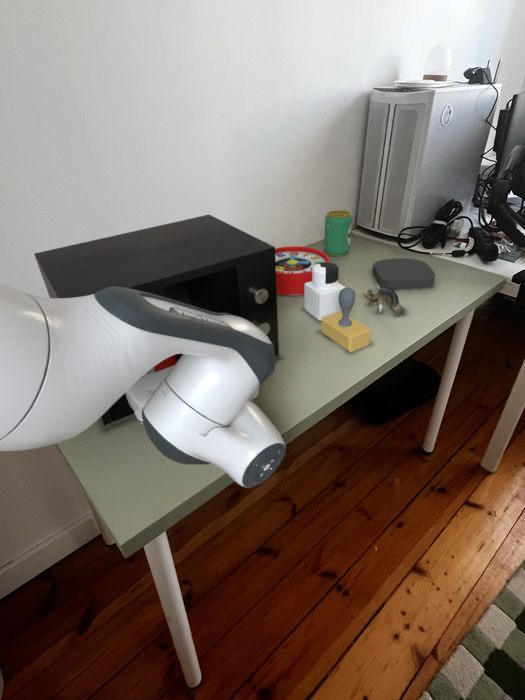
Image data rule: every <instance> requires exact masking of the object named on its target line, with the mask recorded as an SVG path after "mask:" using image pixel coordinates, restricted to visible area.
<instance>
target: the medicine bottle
mask: <svg viewBox="0 0 525 700" xmlns="http://www.w3.org/2000/svg"><path fill="white" fill-rule="evenodd" d="M339 270H340V267H339V266H338V265H337V264H336V263H333V262H330V261H329V262H321V263H318V264H315V265H314V266H313V267H312V281H311V282H307V283H305V284H304V294H303V296H304V299H303V300H304V303H303V306H304V310H305V311H306V312H308V314H310V315H311V316H313V318H315V319H316V320H317V321H319V322H321V321H322V318H324V317H327V316H329V315H332V314H335V313H338V312H342V310H341V307H340V304H339V293H340V291H341V290H342V289H344V288H347V287H346V286H345V285H343V284H342V283H340V282H339V272H340V271H339Z"/></svg>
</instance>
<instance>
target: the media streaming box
mask: <svg viewBox="0 0 525 700" xmlns="http://www.w3.org/2000/svg"><path fill="white" fill-rule="evenodd" d="M372 273H373V275H374V278H375V279H376V281H377V283H378V284H379V285H380V286H381V287H383V286H385V287H389V288H392V289H416V288H427V287H431V286H433V285H434V284H435V280H436V274H435V271H434V270H433V268H432V267H431V266H430V265H429V264H428V263H427V262H425V261H423V260H419V259H415V258H409V257H407V258H406V257H397V258H396V257H394V258H386V259H381V260H378V261H376V262H374V263H373V266H372Z"/></svg>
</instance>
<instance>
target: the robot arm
mask: <svg viewBox="0 0 525 700" xmlns="http://www.w3.org/2000/svg"><path fill="white" fill-rule="evenodd" d="M175 354H183V355H182V356H181V358H180V359H179V360H178V362H177V363H176V364H175V365H174V366H171V367H168V368H166V369H163V370H160V371H158V372H155V370H154V369H155V368H154V366H156V365H157V364H158V363H160V362H161V361H163V360H165V359H166V358H168V357H170V356H173V355H175ZM275 370H276V360H275V353H274V346H273V343H272V342H271V341H270V340H269V338H268V337H267V335H266V334H265V333H264V332H263V331H262V330H261V329H260V328H258V327H257V326H256V325H254V324H253V323H251V322H250V321H248V320H246V319H244V318H241V317H238V316H234V315H231V314H228V313H216V312H211V311H208V310H205V309H201V308H198V307H195V306H192V305H188V304H185V303H182V302H178V301H175V300H172V299H168V298H165V297H162V296H158V295H154V294H151V293H147V292H143V291H139V290H135V289H129V288H123V287H109V288H106V289H104V290H101V291H99V292H96V293H95V294H92V295H87V296H82V297H74V298H50V297H43V296H37V295H34V294H30V293H27V292H25V291H22V290H19V289H17V288H14V287H12V286H9V285H7V284H4V283H1V282H0V452H21V451H22V452H23V451H30V450H35V449H36V450H37V449H39V448H45V447H49V446H52V445H56V444H60V443H63V442H66V441H67V440H70V439H72V438H75V437H77V436H78V435H80V434H81V433H83V432H85V431H86V430H87V429H89V428H90V427H91V426H93V425H94V424H95V423H96V422H97V421H98V420H100V417H101V416H102V415H103V414H104V413H105V412H106V411H107V410H108V409H109V408H110V407H111V406H112V405H113V404H114V403H115V402H116V401H117V400H118V399H119V398H120V397H121V396H122V395H123V394H124V393H125V394H126V397H127V400H128V403H129V405H130V406H131V408H132V409H133V410H134V415H135V417H136V418H135V419H136V420H137V422H138V423H139V424H142V425H143V427H144V430H145V433H146V435H147V437H148V439H149V440H150V442H151V443H152V444H153V446H154V447H155V448H156V449H157V450H158V451H159V453H160V454H162V455H163V456H164V457H166V458H168V459H169V460H171V461H173V462H176V463H178V464H181V465H191V466H192V465H198V466H199V465H202V466H203V465H211V464H212V465H213V466H216V467H217V468H218V469H220V470H222V471H223V472H224V473H225V474H227V476H228V477H230V478H231V479H232V480H233V481H234V482H235V483H236V484H238V485H239V486H241V487H243V488H249V489H250V488H254V487H256V486H259V485H261V484H262V483H264V482H265V481H266V480H268V479H269V478H270V477H271V476H272V475H273V473H274V472H276V470H277V469H278V468H279V466H280V464H281V463H282V461H283V460H284V457H285V455H286V451H287V447H286V446H287V445H286V443H285V441H284V439H283V437H282V436H281V433H280V432H279V431H278V429H277V428H276V426H275V425H274V424H273V422H272V421H271V420H270V418H269V417H268V416H267V414H265V412H264V411H262V409H261V408H260V407H259V406H258V405H257V404H255V402H253V400H255V398H257V397H258V396H259V393H260V392H259V389H260V387H261V386H262V385H263V384H264V383H265V382H266V380H267V379H268V378H269V377H270V376H271V375H272V374H273V373H274V372H275ZM142 376H143V377H142ZM141 377H142V378H141Z"/></svg>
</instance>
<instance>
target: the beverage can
mask: <svg viewBox="0 0 525 700" xmlns="http://www.w3.org/2000/svg"><path fill="white" fill-rule="evenodd" d="M352 222H353V217H352V215H351V212H350V211H347V210H340V209H337V210H331V211H328V212H327V213H326V216H325V218H324V244H323V246H324V248H323V249H324V251H325V254H327V255H328V256H333V257H342V256H345V255H348V253H349V251H350V250H351V241H352V224H353V223H352Z"/></svg>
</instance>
